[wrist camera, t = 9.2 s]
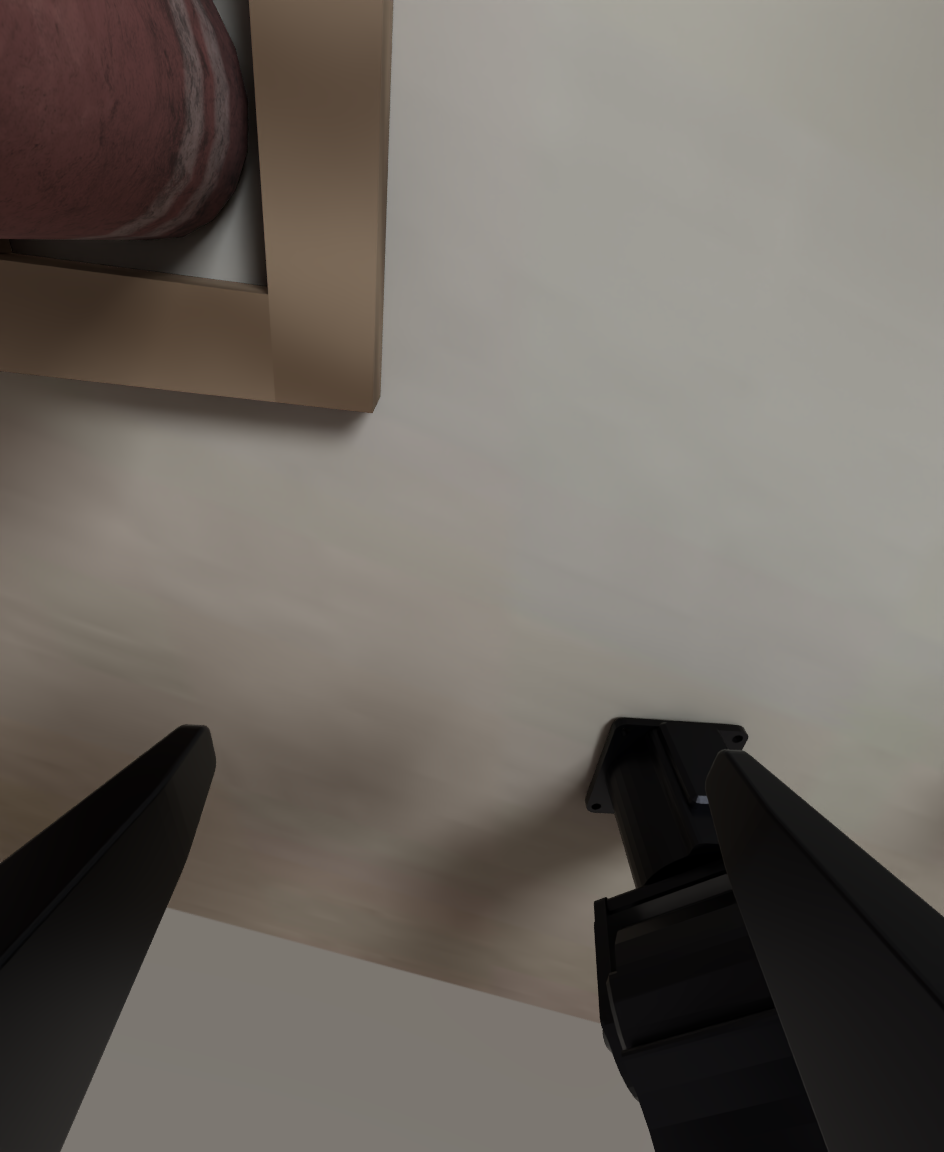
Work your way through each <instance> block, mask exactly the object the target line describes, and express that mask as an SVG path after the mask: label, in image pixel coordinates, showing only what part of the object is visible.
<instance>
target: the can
mask: <svg viewBox="0 0 944 1152" xmlns="http://www.w3.org/2000/svg"><path fill="white" fill-rule="evenodd" d="M247 148H248V100H247V95H246V91H245V87H244V83H243V78H242V74H241V70H240V65H239V61H238V57H237V52H236V48H235V46H234V44H233V42H232V40H231V38H230V36H229V34H228V32H227V30H226V28H225V26H224V23H223V21H222V19H221V17H220V15H219V13H218V11H217V9H216V7H215V5H214V3H213V1H212V0H0V239H70V240H155V239H165V238H174V237H183V236H185V235H187V234H189V233H190V232H192V231H194V230H196V229H198V228H199V227H201V226H203V225H205V224H206V223H208V222H210V221H212V220H213V219H214V218H215V217H216V215H217V214H218V213H219V211H220V210H221V209H222V207H223V206H224V205H225V203H226V202H227V201H228V200H229V198H230V197H231V196H232V194H233V193H234V192H235V190H236V186H237V183H238V180H239V177H240V173H241V170H242V167H243V164H244V160H245V157H246V154H247Z"/></svg>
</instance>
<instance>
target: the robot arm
mask: <svg viewBox="0 0 944 1152" xmlns="http://www.w3.org/2000/svg"><path fill="white" fill-rule="evenodd" d="M623 728H625V729H623ZM747 740H748V734H747V733H746V731H745V729H744V728H743V727H742V726H739V725H727V724H712V723H697V722H682V721H666V720H651V719H636V718H620V719H617V720H616V721H615V722H614V723H613V724H612V726H611V729H610V732H609V735H608V738H607V740H606V743H605V746H604V749H603V751H602V754H601V757H600V760H599V763H598V765H597V768H596V771H595V774H594V776H593V779H592V782H591V785H590V787H589V790H588V793H587V796H586V799H585V803H586V807H587V810H588V811H590V812H594V813H613V814H615V817H616V820H617V824H618V827H619V831H620V834H621V838H622V841H623V845H624V848H625V852H626V856H627V859H628V863H629V866H630V870H631V873H632V877H633V880H634V884H635V887H636V889H634V890H631V891H628V892H625V893H623V894H620V895H617V896H615V897H612V898H609V899H608V898H606V897H605V898H602V899H599V900H596V901H594V914H595V922H594V933H595V948H596V964H597V980H598V996H599V1012H600V1022H601V1026H602V1028H603V1038H604V1042H605V1044H606V1047H607V1048H608V1050H609V1051H610V1052H612V1054H613V1056H614V1059H615V1062H616V1064H617V1066H618V1069H619V1071H620V1074H621V1076H622V1077H623V1079H624V1082H625V1084H626V1085H627V1087H628V1089H629V1090H630V1092H631V1093H632V1095H633V1096H634V1098H635V1099H636V1100H638V1101H639V1102H640V1105H641V1108H642V1111H643V1114H644V1117H645V1120H646V1123H647V1126H648V1129H649V1132H650V1135H651V1139H652V1142H653V1146H654V1149H655V1152H944V917H943V916H942V915H941V914H940V913H938V912H937V911H936V910H935V909H934V908H932V907H931V906H930V905H929V904H928V903H927V902H925V901H924V900H923V899H922V898H921V897H919V896H918V895H917V894H916V893H915V892H913V891H912V890H911V889H910V888H909V887H907V886H906V885H905V884H904V883H903V882H901V881H900V880H899V879H898V878H897V877H895V876H894V875H893V874H892V873H891V872H889V871H888V870H887V869H886V868H885V867H883V866H882V865H881V864H880V863H879V862H877V861H876V860H875V859H874V858H873V857H871V856H870V855H869V854H868V853H867V852H865V851H864V850H863V849H862V848H861V847H859V846H858V845H857V844H856V843H855V842H854V841H852V840H851V839H850V838H849V837H848V836H846V835H845V834H844V833H843V832H842V831H840V830H839V829H838V828H837V827H836V826H834V825H833V824H832V823H831V822H830V821H828V820H827V819H826V818H825V817H824V816H822V815H821V814H820V813H819V812H818V811H816V810H815V809H814V808H813V807H812V806H810V805H809V804H808V803H807V802H806V801H804V800H803V799H802V798H801V797H800V796H798V795H797V794H796V793H795V792H794V791H792V790H791V789H790V788H789V787H788V786H786V785H785V784H784V783H783V782H782V781H780V780H779V779H778V778H777V777H776V776H775V775H773V774H772V773H771V772H770V771H769V770H767V769H766V768H765V767H764V766H763V765H761V764H760V763H759V762H758V761H757V760H755V759H754V758H753V757H752V756H751V755H749V754H748V753H747V752H745V751H742V749H743V747H744V745H745V743H746V742H747ZM215 768H216V756H215V751H214V747H213V742H212V738H211V733H210V730H209V728H208V727H207V726H204V725H188V724H186V725H182V726H180V727H178V728H176V729H175V730H174V731H173V732H171V733H170V734H169V735H167V736H166V737H165V738H163V739H162V740H161V741H159V742H158V743H157V744H156V745H154V746H153V747H152V748H150V749H149V750H148V751H146V752H145V753H144V754H142V755H141V756H140V757H139V758H137V759H136V760H135V761H133V762H132V763H131V764H129V765H128V766H127V767H125V768H124V769H123V770H122V771H120V772H119V773H118V774H116V775H115V776H114V777H112V778H111V779H110V780H108V781H107V782H106V783H105V784H103V785H102V786H101V787H99V788H98V789H97V790H95V791H94V792H93V793H91V794H90V795H89V796H88V797H86V798H85V799H84V800H82V801H81V802H80V803H78V804H77V805H76V806H74V807H73V808H72V809H71V810H69V811H68V812H67V813H65V814H64V815H63V816H61V817H60V818H59V819H57V820H56V821H55V822H54V823H52V824H51V825H50V826H48V827H47V828H46V829H44V830H43V831H42V832H40V833H39V834H38V835H37V836H35V837H34V838H33V839H31V840H30V841H29V842H27V843H26V844H25V845H24V846H22V847H21V848H20V849H18V850H17V851H16V852H14V853H13V854H12V855H10V856H9V857H8V858H7V859H5V860H4V861H3V862H1V863H0V1152H60V1151H61V1149H62V1147H63V1144H64V1142H65V1140H66V1137H67V1135H68V1133H69V1131H70V1128H71V1126H72V1124H73V1121H74V1119H75V1117H76V1114H77V1112H78V1110H79V1108H80V1105H81V1103H82V1100H83V1098H84V1096H85V1094H86V1091H87V1089H88V1087H89V1085H90V1082H91V1080H92V1078H93V1075H94V1073H95V1070H96V1068H97V1066H98V1064H99V1062H100V1059H101V1057H102V1055H103V1052H104V1050H105V1048H106V1045H107V1043H108V1041H109V1039H110V1036H111V1034H112V1032H113V1029H114V1027H115V1025H116V1022H117V1020H118V1018H119V1016H120V1013H121V1011H122V1008H123V1006H124V1004H125V1002H126V999H127V997H128V995H129V993H130V990H131V988H132V985H133V983H134V981H135V979H136V976H137V974H138V972H139V970H140V967H141V965H142V963H143V960H144V958H145V956H146V953H147V951H148V949H149V946H150V944H151V942H152V940H153V937H154V935H155V933H156V930H157V928H158V925H159V924H160V921H161V919H162V917H163V914H164V912H165V910H166V907H167V905H168V903H169V900H170V898H171V896H172V894H173V891H174V889H175V887H176V884H177V882H178V880H179V877H180V875H181V873H182V870H183V868H184V865H185V863H186V860H187V857H188V854H189V852H190V849H191V846H192V842H193V839H194V836H195V833H196V830H197V827H198V823H199V820H200V817H201V814H202V811H203V807H204V804H205V801H206V798H207V795H208V792H209V788H210V785H211V782H212V779H213V776H214V772H215Z"/></svg>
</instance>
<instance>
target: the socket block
mask: <svg viewBox="0 0 944 1152" xmlns="http://www.w3.org/2000/svg"><path fill="white" fill-rule="evenodd" d="M249 10H250V25H251V41H252V56H253V71H254V86H255V101H256V116H257V131H258V147H259V162H260V177H261V192H262V207H263V222H264V237H265V253H266V268H267V283H268V286H261V285H253V284H245V283H238V282H230V281H222V280H215V279H207V278H200V277H192V276H184V275H177V274H169V273H161V272H154V271H146V270H139V269H131V268H123V267H116V266H108V265H101V264H93V263H85V262H78V261H70V260H62V259H55V258H47V257H40V256H32V255H24V254H17V253H13V252H12V249H11V245H10V242H9V239H0V371H3V372H12V373H21V374H30V375H39V376H47V377H56V378H65V379H74V380H83V381H92V382H101V383H109V384H118V385H127V386H136V387H145V388H154V389H163V390H172V391H180V392H189V393H198V394H207V395H216V396H225V397H234V398H243V399H251V400H260V401H269V402H278V403H287V404H296V405H305V406H314V407H322V408H331V409H340V410H349V411H358V412H367V413H373V411H374V409H375V407H376V405H377V403H378V400H379V398H380V391H381V361H382V330H383V300H384V269H385V238H386V208H387V177H388V146H389V115H390V85H391V54H392V24H393V0H249Z"/></svg>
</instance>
